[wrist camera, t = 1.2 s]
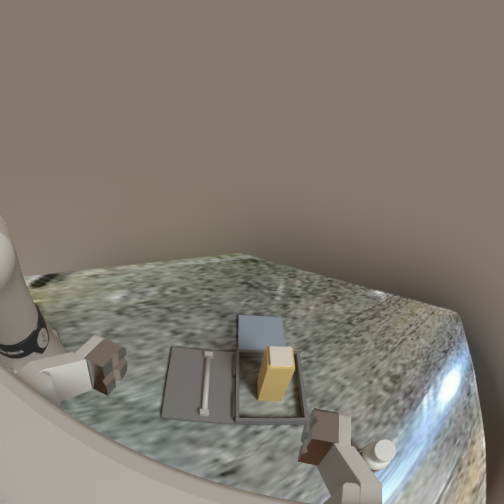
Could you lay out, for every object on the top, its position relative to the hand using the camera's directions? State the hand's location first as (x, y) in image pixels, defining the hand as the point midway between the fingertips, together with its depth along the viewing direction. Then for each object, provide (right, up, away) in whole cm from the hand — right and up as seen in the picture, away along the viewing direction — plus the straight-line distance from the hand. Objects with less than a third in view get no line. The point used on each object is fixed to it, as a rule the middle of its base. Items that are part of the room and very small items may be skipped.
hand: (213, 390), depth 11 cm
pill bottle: (+21, -33, +31) cm, 50 cm away
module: (+5, -21, +44) cm, 49 cm away
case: (-2, -20, +44) cm, 48 cm away
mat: (+4, -13, +55) cm, 57 cm away
